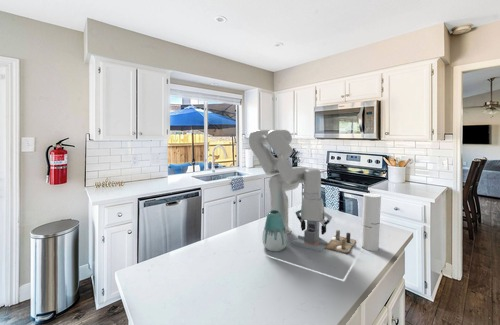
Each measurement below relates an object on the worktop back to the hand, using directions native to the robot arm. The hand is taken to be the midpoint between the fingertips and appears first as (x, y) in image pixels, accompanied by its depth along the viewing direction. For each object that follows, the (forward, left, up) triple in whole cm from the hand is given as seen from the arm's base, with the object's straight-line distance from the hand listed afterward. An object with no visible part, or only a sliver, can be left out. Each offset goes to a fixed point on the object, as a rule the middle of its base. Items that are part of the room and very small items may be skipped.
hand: (313, 231), depth 115 cm
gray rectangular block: (-3, +9, -7) cm, 12 cm away
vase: (-14, -12, -8) cm, 20 cm away
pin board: (+11, +8, -7) cm, 15 cm away
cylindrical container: (+22, +14, -8) cm, 27 cm away
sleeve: (-1, 0, -7) cm, 7 cm away
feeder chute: (-2, 0, -7) cm, 8 cm away
